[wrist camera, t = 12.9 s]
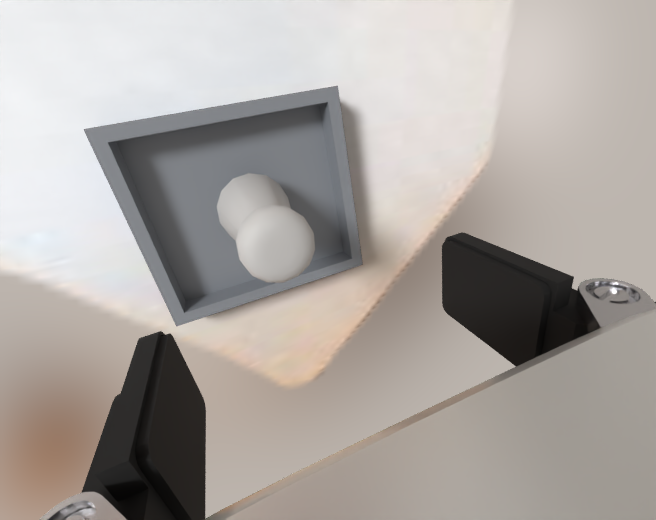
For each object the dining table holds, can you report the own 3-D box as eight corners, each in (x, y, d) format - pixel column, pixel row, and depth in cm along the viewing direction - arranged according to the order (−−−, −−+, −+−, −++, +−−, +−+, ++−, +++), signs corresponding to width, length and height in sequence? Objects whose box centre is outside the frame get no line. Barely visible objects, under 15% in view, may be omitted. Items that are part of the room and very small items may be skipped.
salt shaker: (286, 175, 28) (341, 202, 17) (279, 236, 30) (325, 299, 18) (217, 166, 26) (225, 191, 14) (214, 233, 27) (220, 302, 16)
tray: (324, 90, 27) (337, 85, 25) (350, 254, 34) (362, 264, 31) (97, 129, 23) (83, 129, 20) (179, 309, 30) (176, 326, 27)
